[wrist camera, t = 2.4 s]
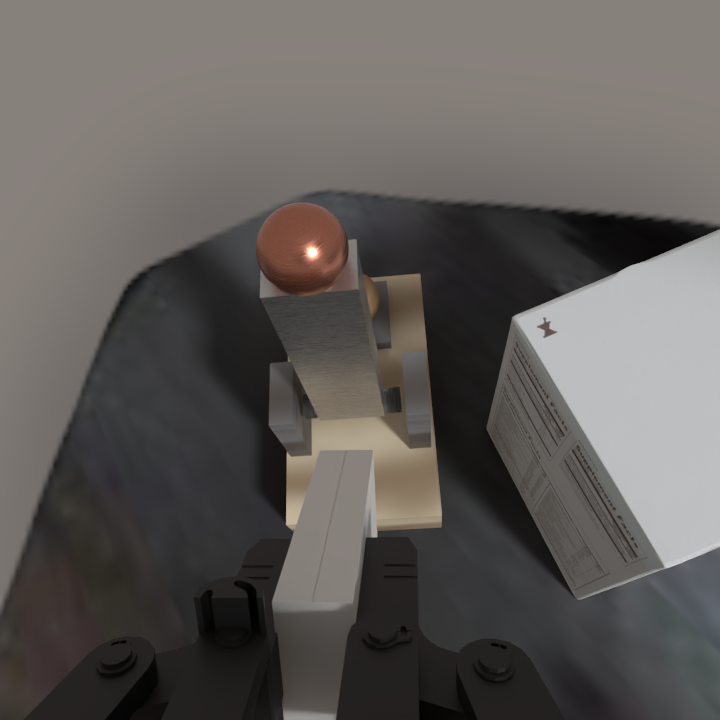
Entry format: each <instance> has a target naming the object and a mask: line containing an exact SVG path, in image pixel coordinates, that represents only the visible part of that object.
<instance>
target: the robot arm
mask: <svg viewBox="0 0 720 720" xmlns="http://www.w3.org/2000/svg"><path fill="white" fill-rule="evenodd" d="M194 602H195V609H196V615H197V622H198V629H199V636H198V638H197V640H196V642H195V643H193V644H191V645H189V646H186V647H183V648H179V649H175V650H171V651H167V652H162V653H158V654H155V650H154V647H153V646H152V644H151V643H150V642H149V641H148V640H145V639H143V638H141V637H129V636H126V637H122V638H117V639H113V640H111V641H108V642H106V643H104V644H102V645H100V646H98V647H97V648H96V649H94V650H93V651H92V652H90V653H89V654H88V655H87V656H86V657H85V658H84V659H83V660H82V661H81V662H80V663H79V664H78V665H77V666H76V667H75V668H74V669H73V670H72V671H71V672H70V673H69V674H68V675H67V676H66V677H65V678H64V679H63V680H62V681H61V682H60V683H59V684H58V685H57V686H56V687H55V688H54V689H53V690H52V692H51V693H50V694H49V695H48V696H47V697H46V698H45V699H44V700H43V701H42V702H41V703H40V704H39V705H38V706H37V707H36V708H35V709H34V710H33V711H32V712H31V713H30V714H29V715H28V716H27V717H26V718H25V719H24V720H278V715H279V711H280V707H281V703H282V705H283V715H284V720H565V719H564V717H563V715H562V713H561V712H560V710H559V708H558V706H557V705H556V703H555V701H554V700H553V698H552V696H551V694H550V693H549V691H548V689H547V687H546V686H545V684H544V682H543V680H542V679H541V677H540V675H539V673H538V672H537V670H536V668H535V666H534V665H533V663H532V661H531V659H530V658H529V657H528V656H527V655H526V654H525V653H524V651H523V650H522V649H520V648H518V647H517V646H515V645H513V644H511V643H510V642H506V641H502V640H498V639H480V640H477V641H474V642H471V643H469V644H467V645H466V646H465V647H464V648H463V649H461V650H460V652H459V653H456V652H452V651H448V650H446V649H443V648H440V647H438V646H436V645H435V644H433V643H431V642H430V641H429V640H428V639H427V638H426V637H425V636H424V635H423V633H422V632H421V630H420V628H419V602H418V565H417V549H416V548H415V546H414V545H413V544H412V542H411V541H410V539H409V538H408V537H377V520H376V499H375V478H374V457H373V450H320V452H319V455H318V458H317V461H316V464H315V468H314V471H313V474H312V477H311V480H310V483H309V486H308V490H307V493H306V496H305V499H304V502H303V505H302V508H301V512H300V515H299V518H298V521H297V524H296V527H295V531H294V534H293V537H292V539H261V540H260V541H259V542H258V543H257V544H255V545H254V546H253V547H252V548H251V549H250V550H249V551H248V552H247V555H246V557H245V559H244V562H243V564H242V568H241V569H240V571H239V574H238V576H235V577H226V578H222V579H219V580H216V581H213V582H211V583H209V584H208V585H206V586H205V587H203V588H202V589H200V591H199V592H198V593H197V594H196V596H195V597H194Z"/></svg>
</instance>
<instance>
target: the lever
mask: <svg viewBox="0 0 720 720" xmlns="http://www.w3.org/2000/svg"><path fill="white" fill-rule="evenodd" d="M256 256H257V261H258V264H259V267H260V269H261V273H260V300H261V302H262V304H263V306H264V308H265V310H266V312H267V314H268V316H269V318H270V320H271V322H272V324H273V326H274V328H275V330H276V332H277V334H278V336H279V338H280V340H281V342H282V344H283V346H284V349H285V351H286V353H287V355H288V357H289V359H290V361H291V363H292V365H293V367H294V369H295V371H296V373H297V375H298V377H299V379H300V381H301V383H302V385H303V387H304V389H305V391H306V393H307V394H304V395H303V412H304V417H305V419H315V418H319V420H320V421H323V420H338V419H352V418H366V417H380V416H385V413H399V412H402V408H401V394H400V387H387V388H383V377H382V372H381V367H380V361H379V356H378V351H377V346H376V340H375V335H374V330H373V324H372V319H371V314H370V309H369V303H368V298H367V293H366V287H365V282H364V277H363V272H362V266H361V261H360V256H359V250H358V245H357V240H356V239H353V240H348V239H347V235H346V232H345V230H344V228H343V226H342V225H341V223H340V222H339V220H338V219H337V218H336V217H335V216H334V215H333V214H332V213H331V212H329V211H328V210H326V209H324V208H323V207H321V206H318V205H315V204H311V203H303V202H301V203H292V204H288V205H286V206H283V207H281V208H279V209H278V210H276V211H275V212H273V213H272V214H271V215H270V216H269V217H268V218H267V219H266V221H265V222H264V223H263V225H262V227H261V229H260V231H259V234H258V237H257V242H256Z"/></svg>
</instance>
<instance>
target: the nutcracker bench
mask: <svg viewBox="0 0 720 720" xmlns="http://www.w3.org/2000/svg"><path fill="white" fill-rule="evenodd" d="M363 277H364V282H365V287H366V293H367V298H368V303H369V309H370V314H371V319H372V324H373V330H374V335H375V340H376V346H377V351H378V356H379V361H380V367H381V372H382V377H383V388H387V387H400V394H401V408H402V412H399V413H385V416H380V417H366V418H352V419H338V420H323V421H320V420H319V418H315V419H305V417H304V412H303V395H304V394H307V393H306V391H305V389H304V387H303V385H302V383H301V381H300V379H299V377H298V375H297V373H296V371H295V369H294V367H293V365H292V363H291V361H290V359H289V357H288V362H279V363H270V391H269V427H270V428H271V430H272V431H273V432H274V434H275V435H276V436H277V438H278V439H279V441H280V442H281V443H282V445H283V446H284V448H285V449H286V450H287V484H286V525H287V526H288V527H289V528H290V529H291V530H292V531H295V527H296V524H297V521H298V518H299V515H300V512H301V508H302V505H303V502H304V499H305V496H306V493H307V490H308V486H309V483H310V480H311V477H312V474H313V471H314V468H315V464H316V461H317V458H318V455H319V452H320V450H373V457H374V478H375V499H376V520H377V531H384V530H402V529H419V528H437V527H441V525H442V511H441V500H440V489H439V478H438V466H437V455H436V444H435V433H434V422H433V411H432V399H431V388H430V377H429V366H428V355H427V344H426V333H425V321H424V310H423V299H422V288H421V277H420V274H408V275H397V276H386V277H374V278H369V277H368V276H367V275H365V274H363Z"/></svg>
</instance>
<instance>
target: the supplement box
mask: <svg viewBox="0 0 720 720" xmlns="http://www.w3.org/2000/svg"><path fill="white" fill-rule="evenodd" d="M486 429H487V431H488V433H489V435H490V437H491V439H492V441H493V443H494V445H495V447H496V449H497V451H498V452H499V454H500V456H501V458H502V460H503V462H504V464H505V466H506V468H507V470H508V472H509V473H510V475H511V477H512V479H513V481H514V483H515V485H516V487H517V489H518V491H519V493H520V495H521V496H522V498H523V500H524V502H525V504H526V506H527V508H528V510H529V512H530V514H531V516H532V518H533V519H534V521H535V523H536V525H537V527H538V529H539V531H540V533H541V535H542V537H543V539H544V541H545V542H546V544H547V546H548V548H549V550H550V552H551V554H552V556H553V558H554V559H555V561H556V563H557V565H558V567H559V569H560V571H561V573H562V574H563V576H564V578H565V580H566V582H567V584H568V586H569V588H570V589H571V591H572V593H573V595H574V596H575V598H576V599H578V600H580V599H583V598H586V597H589V596H591V595H594V594H597V593H600V592H602V591H605V590H608V589H611V588H614V587H617V586H619V585H622V584H624V583H627V582H630V581H632V580H635V579H638V578H641V577H643V576H646V575H649V574H651V573H654V572H657V571H659V570H662V569H665V568H669V567H672V566H675V565H677V564H680V563H682V562H684V561H687V560H689V559H692V558H694V557H697V556H699V555H702V554H704V553H707V552H709V551H712V550H714V549H717V548H719V547H720V230H717V231H715V232H713V233H710V234H708V235H706V236H703V237H701V238H699V239H696V240H694V241H691V242H689V243H687V244H684V245H682V246H680V247H677V248H675V249H673V250H670V251H668V252H665V253H663V254H661V255H658V256H656V257H654V258H651V259H649V260H647V261H644V262H641V263H638V264H634V265H631V266H629V267H627V268H625V269H623V270H621V271H619V272H617V273H615V274H613V275H611V276H609V277H606V278H604V279H601V280H599V281H597V282H594V283H592V284H589V285H587V286H585V287H582V288H580V289H577V290H575V291H573V292H570V293H568V294H565V295H563V296H561V297H558V298H556V299H553V300H551V301H549V302H546V303H544V304H541V305H539V306H537V307H534V308H532V309H530V310H527V311H525V312H522V313H520V314H517V315H515V316H513V317H512V321H511V325H510V330H509V334H508V339H507V343H506V347H505V352H504V356H503V360H502V365H501V369H500V373H499V377H498V382H497V386H496V390H495V394H494V398H493V402H492V406H491V411H490V415H489V419H488V423H487V427H486Z"/></svg>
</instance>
